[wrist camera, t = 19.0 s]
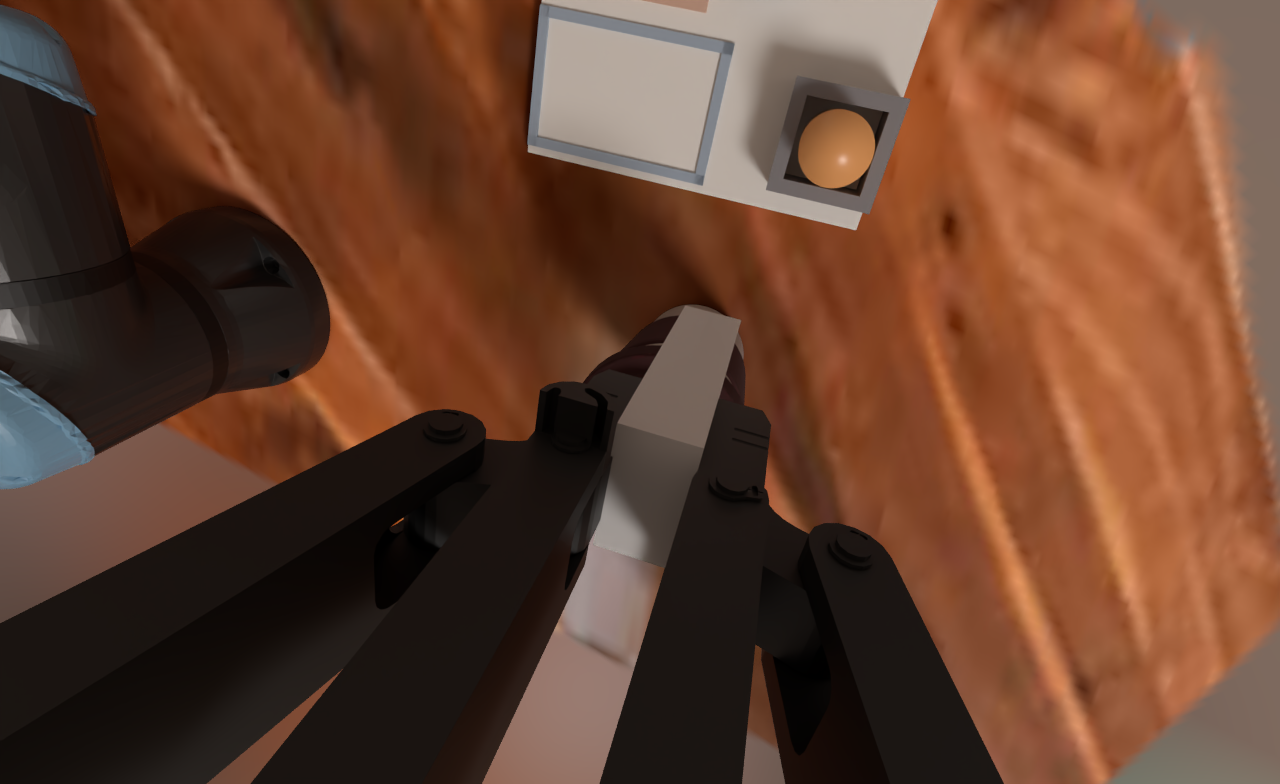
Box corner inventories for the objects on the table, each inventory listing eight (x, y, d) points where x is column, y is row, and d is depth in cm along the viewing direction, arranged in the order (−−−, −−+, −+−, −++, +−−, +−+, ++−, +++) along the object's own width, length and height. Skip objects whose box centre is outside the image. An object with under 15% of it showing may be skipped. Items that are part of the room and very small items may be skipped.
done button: (790, 169, 37) (789, 179, 33) (810, 101, 35) (811, 102, 31) (853, 183, 37) (859, 195, 32) (876, 115, 35) (886, 118, 30)
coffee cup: (680, 255, 42) (623, 327, 29) (792, 342, 43) (785, 450, 30) (605, 356, 47) (526, 457, 34) (706, 433, 47) (668, 561, 34)
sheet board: (532, 151, 41) (508, 155, 38) (561, -151, 34) (534, -177, 31) (855, 227, 39) (859, 240, 35) (964, -83, 31) (983, -104, 28)
